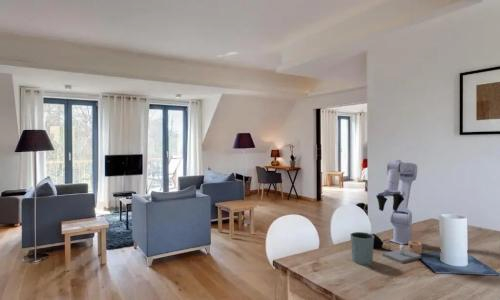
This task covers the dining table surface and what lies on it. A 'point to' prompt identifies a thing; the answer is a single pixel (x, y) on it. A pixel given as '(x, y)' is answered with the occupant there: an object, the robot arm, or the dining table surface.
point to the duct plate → (401, 255)
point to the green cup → (362, 248)
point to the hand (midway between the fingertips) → (387, 210)
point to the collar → (415, 247)
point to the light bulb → (380, 243)
